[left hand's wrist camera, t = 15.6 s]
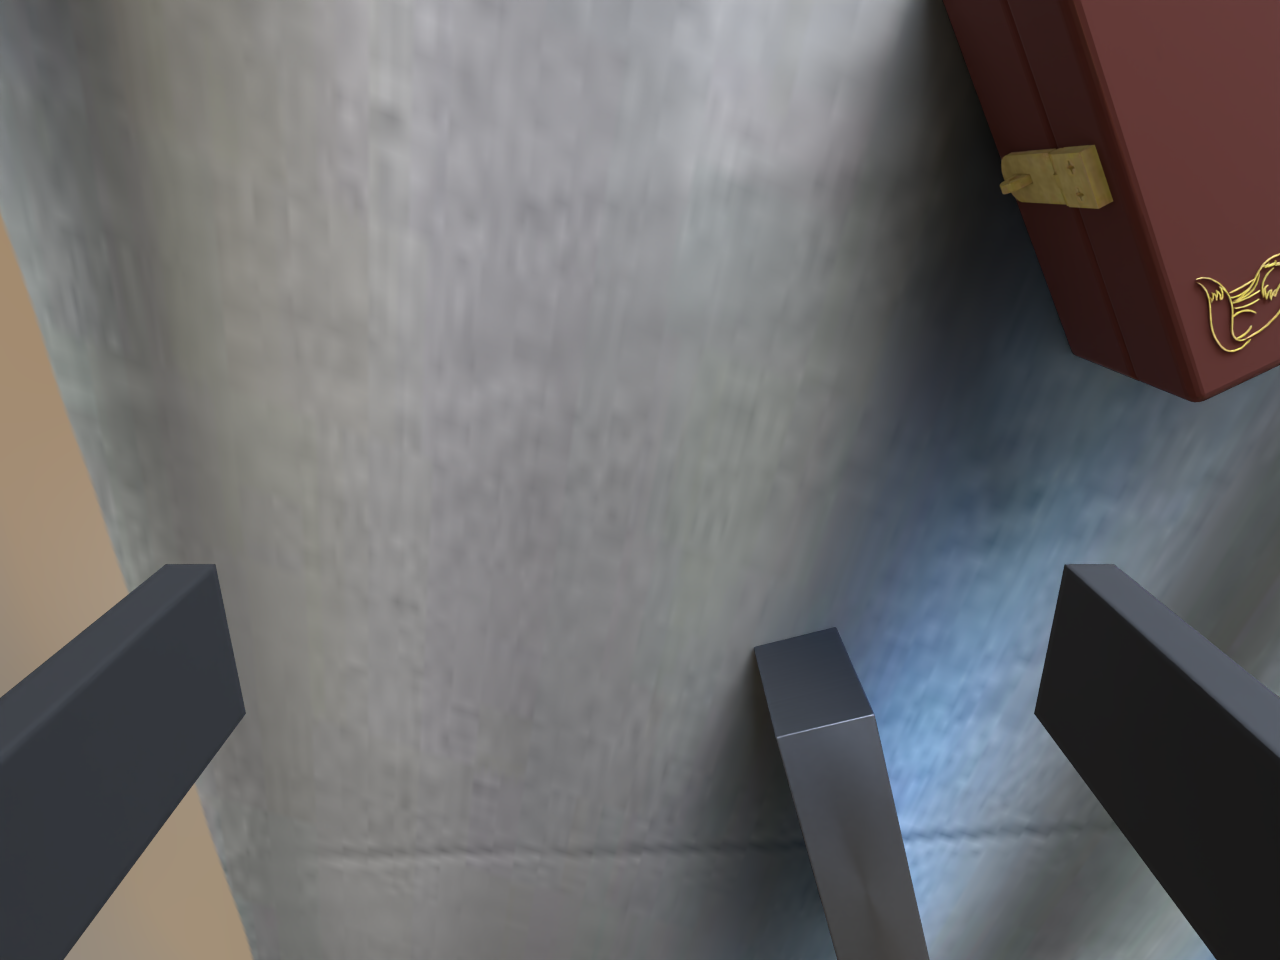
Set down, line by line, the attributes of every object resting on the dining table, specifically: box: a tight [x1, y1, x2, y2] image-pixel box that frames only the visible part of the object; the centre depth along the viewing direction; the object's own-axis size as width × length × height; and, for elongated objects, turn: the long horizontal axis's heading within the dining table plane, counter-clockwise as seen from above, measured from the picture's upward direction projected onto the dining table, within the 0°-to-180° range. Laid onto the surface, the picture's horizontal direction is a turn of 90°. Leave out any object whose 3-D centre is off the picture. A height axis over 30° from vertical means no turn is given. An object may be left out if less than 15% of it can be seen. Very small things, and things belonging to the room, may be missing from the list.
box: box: [943, 0, 1280, 402], centre depth 33 cm, size 21×16×10 cm
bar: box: [754, 627, 929, 960], centre depth 48 cm, size 23×5×8 cm, turn 16°
